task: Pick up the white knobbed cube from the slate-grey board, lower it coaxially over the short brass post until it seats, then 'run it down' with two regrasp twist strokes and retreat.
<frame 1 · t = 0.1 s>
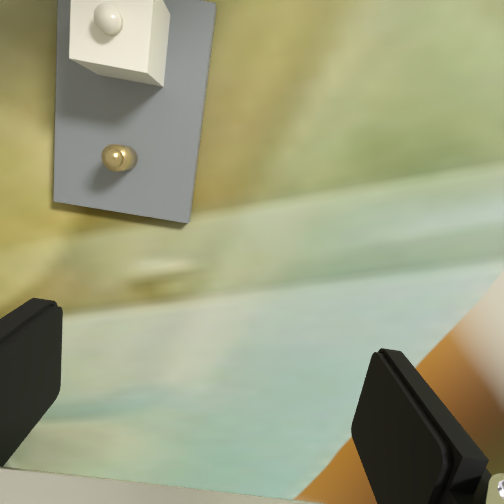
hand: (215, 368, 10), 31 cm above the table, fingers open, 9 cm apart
post: (125, 157, 37), resting on board
board: (132, 110, 37), on the table
white knobbed cube: (133, 45, 34), point 1 cm above the table, touching board
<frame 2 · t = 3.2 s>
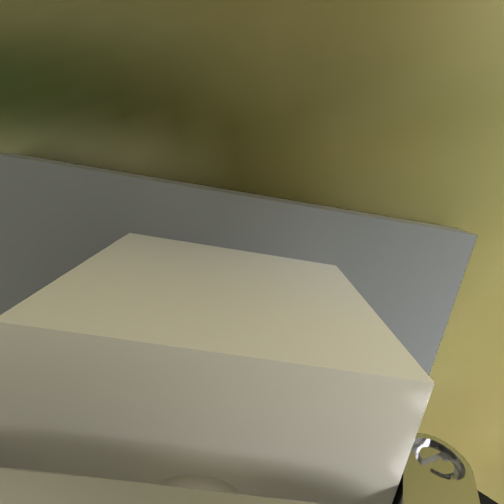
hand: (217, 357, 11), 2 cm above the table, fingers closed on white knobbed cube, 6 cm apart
board: (201, 454, 14), on the table
white knobbed cube: (219, 341, 12), point 1 cm above the table, touching board, gripper
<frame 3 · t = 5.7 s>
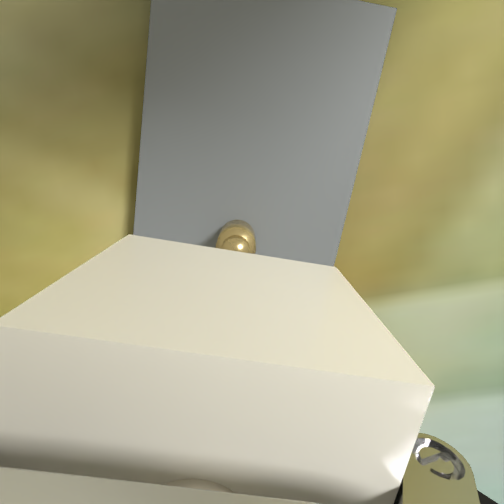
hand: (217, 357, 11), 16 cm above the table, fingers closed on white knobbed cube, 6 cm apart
post: (237, 237, 25), resting on board
board: (248, 167, 25), on the table
white knobbed cube: (219, 343, 12), point 15 cm above the table, touching gripper
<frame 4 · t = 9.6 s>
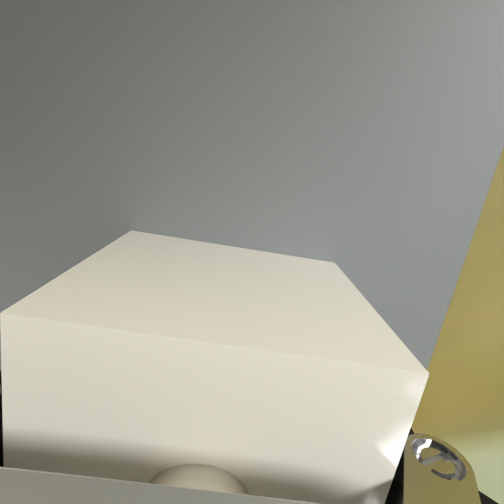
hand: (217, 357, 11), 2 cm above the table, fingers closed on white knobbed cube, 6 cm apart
board: (243, 191, 12), on the table
white knobbed cube: (220, 338, 12), point 1 cm above the table, touching board, gripper
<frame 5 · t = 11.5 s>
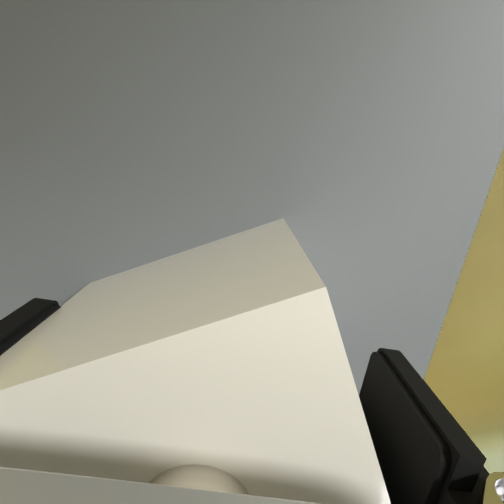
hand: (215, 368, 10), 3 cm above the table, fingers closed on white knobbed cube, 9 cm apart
board: (243, 192, 12), on the table
white knobbed cube: (220, 338, 12), point 1 cm above the table, touching gripper
when the fingers open (2 cm above the table, at t = 13.3 s): white knobbed cube stays where it is, resting on board.
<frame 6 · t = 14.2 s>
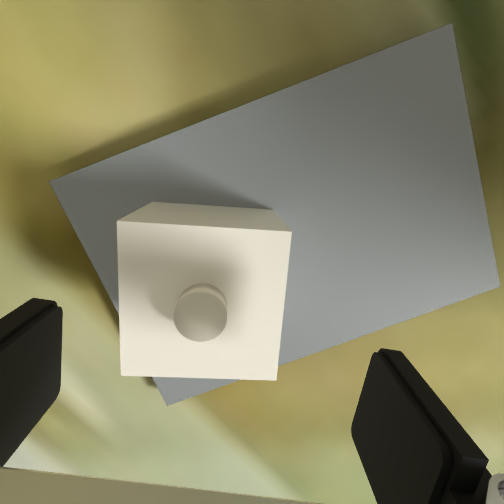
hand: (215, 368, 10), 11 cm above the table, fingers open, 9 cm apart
board: (288, 233, 21), on the table
white knobbed cube: (211, 263, 20), point 1 cm above the table, touching board
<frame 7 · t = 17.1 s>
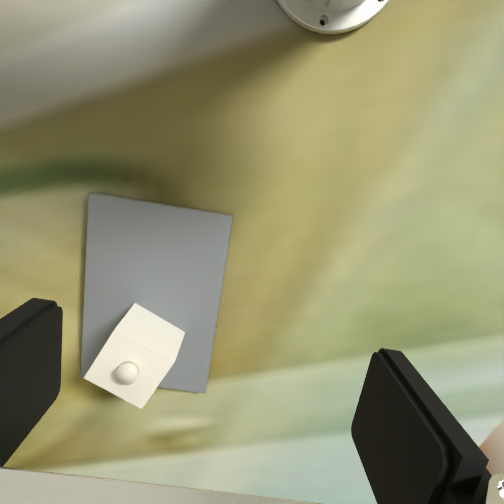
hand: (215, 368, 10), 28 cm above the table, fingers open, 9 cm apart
board: (154, 297, 40), on the table
white knobbed cube: (145, 339, 40), point 1 cm above the table, touching board
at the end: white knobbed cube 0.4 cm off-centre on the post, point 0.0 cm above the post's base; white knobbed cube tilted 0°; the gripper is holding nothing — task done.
